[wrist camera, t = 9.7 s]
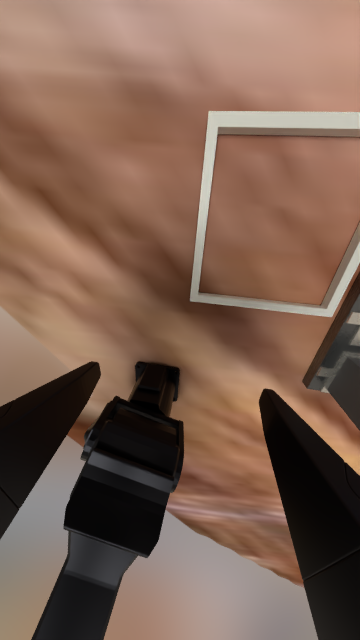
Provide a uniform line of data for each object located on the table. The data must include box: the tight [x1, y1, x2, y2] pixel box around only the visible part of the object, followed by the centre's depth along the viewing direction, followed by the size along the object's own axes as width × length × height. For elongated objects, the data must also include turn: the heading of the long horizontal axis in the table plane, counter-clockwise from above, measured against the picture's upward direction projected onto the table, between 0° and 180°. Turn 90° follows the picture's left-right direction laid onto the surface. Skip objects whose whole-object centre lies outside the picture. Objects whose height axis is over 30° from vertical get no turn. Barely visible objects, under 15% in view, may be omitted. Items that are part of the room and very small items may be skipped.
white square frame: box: [190, 111, 360, 317], centre depth 15 cm, size 15×15×1 cm
